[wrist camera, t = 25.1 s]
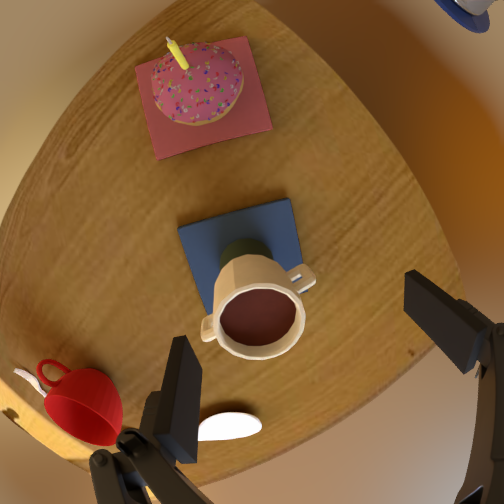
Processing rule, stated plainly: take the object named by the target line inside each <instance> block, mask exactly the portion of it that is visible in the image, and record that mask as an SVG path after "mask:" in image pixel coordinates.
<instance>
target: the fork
mask: <svg viewBox="0 0 504 504" xmlns="http://www.w3.org/2000/svg"><path fill="white" fill-rule="evenodd" d="M16 369H18V368H16ZM16 369H15V370H16ZM15 370H14V371H15ZM19 370H20V371H19ZM14 371H13V372H14ZM18 371H19V372H18ZM17 372H18V373H17ZM15 373H17V374H19V375H20V376H22V377H24V378H25V379H26V380H28V381H29V382H30V383H31V384H32V385H33V386H34V388H35V389H36V390H37V391H38V392H39V393H41V394H42V395H43V396H44V397H46V396H47V394H46V393H45V392H44V391H43V390H42V389H41V388H40V385H39V382H38V380H37V379H36V378H35V377H34V376H33V375H32V374H30V373H28V372H26V371H24V370H21V369H18V370H16V371H15Z"/></svg>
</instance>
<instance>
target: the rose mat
mask: <svg viewBox="0 0 504 504" xmlns="http://www.w3.org/2000/svg"><path fill="white" fill-rule="evenodd" d="M210 44H213V45H216V46H219V47H223V48H224V49H226V50H228V51H230V53H231V52H232V53H231V54H232V55H233V56H234V58H235V59H236V61H238V62H239V66H240V67H241V70H242V72H243V75H244V84H243V89H242V92H241V93H240V95H239V97H238V98H237V100H236V102H235V104H234V106H233V107H232V108H231V110H230V111H229V112H228V113H227V114H226V115H225V116H223V117H222V118H221V119H219V120H217V121H215V122H212V123H208V124H204V125H200V126H192V125H187V124H182V123H178V122H175V121H173V120H171V119H170V118H169V117H167V116H166V115H164V114H163V112H162V111H161V110H160V109H159V108H158V107H157V105H156V103H155V100H154V98H153V90H152V80H151V78H152V77H151V75H152V74H153V72H154V71H153V69H154V68H156V67H155V64H158V63H159V61H160V60H161V58H163V57H160V58H157V59H154V60H151V61H149V62H146V63H143V64H141V65H138V66H135V71H136V76H137V81H138V85H139V90H140V95H141V99H142V104H143V108H144V112H145V116H146V121H147V125H148V129H149V133H150V137H151V141H152V144H153V148H154V152H155V156H156V159H157V160H162V159H165V158H168V157H171V156H174V155H177V154H180V153H183V152H186V151H190V150H193V149H196V148H200V147H203V146H207V145H210V144H214V143H218V142H221V141H225V140H229V139H233V138H237V137H241V136H245V135H250V134H254V133H258V132H263V131H268V130H272V129H273V127H272V123H271V119H270V115H269V111H268V108H267V104H266V100H265V97H264V93H263V89H262V86H261V82H260V79H259V75H258V72H257V69H256V65H255V62H254V59H253V55H252V52H251V49H250V45H249V42H248V39H247V36H242V37H237V38H231V39H226V40H222V41H217V42H213V43H210ZM164 57H165V56H164ZM154 70H155V69H154Z"/></svg>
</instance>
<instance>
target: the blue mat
mask: <svg viewBox="0 0 504 504" xmlns="http://www.w3.org/2000/svg"><path fill="white" fill-rule="evenodd" d="M177 230H178V233H179V236H180V239H181V242H182V245H183V248H184V251H185V254H186V257H187V260H188V263H189V265H190V268H191V271H192V274H193V277H194V280H195V282H196V285H197V288H198V291H199V293H200V296H201V299H202V301H203V304H204V307H205V309H206V312H207V314H208V315H210V314H212V313H213V304H214V286H215V282H216V280H217V278H218V276H219V274H220V269H219V266H220V257H221V255H222V253H223V252H224V250H225V248H226V247H227V245H229V244H231V243H233V242H234V241H236V240H238V239H246V238H252V239H255V240H257V241H260V242H263V243H264V244H265V245H266V246H267V247H268V248H269V249H270V250H271V252H272V255H273V259H274V261H275V262H278V264H279V265H280V266H281V267H282V268H283V269H284V270H285V271H286V272H288V271H289V270H291V269H293V268H295V267H296V266H298V265H300V264H303V261H302V256H301V251H300V245H299V240H298V235H297V230H296V226H295V221H294V216H293V211H292V207H291V202H290V199H289V198H284V199H279V200H275V201H271V202H268V203H264V204H260V205H256V206H252V207H248V208H244V209H241V210H237V211H233V212H229V213H226V214H222V215H218V216H215V217H211V218H208V219H204V220H201V221H197V222H194V223H190V224H187V225H183V226H180V227H178V229H177ZM301 278H302V276H301V277H299V278H297V279H295V280H294V281H292V283H294V282H296V281H298V280H300V279H301ZM304 292H308V289H306V290H305V291H303V292H301V293H304ZM301 293H299V294H301Z"/></svg>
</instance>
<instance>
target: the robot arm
mask: <svg viewBox="0 0 504 504" xmlns="http://www.w3.org/2000/svg"><path fill="white" fill-rule="evenodd" d="M451 1H452V2H453V3H454V4H455V5H456V6H457V7H458V8H460V9H461V10H462V11H464V12H465V13H467V14H469V15H471V16H478V15H481V14H482V13H484V12H485V11H486V10H487V9H488V7H489V6H490V5H491V4H492V3H493V2H494V1H496V0H451ZM404 311H405V312H406V313H407V314H408V315H409V316H410V317H411V318H412V319H413V320H414V321H415V323H416V324H417V325H418V326H419V327H420V328H421V329H422V330H423V331H424V332H425V333H426V334H427V335H428V336H429V337H430V338H431V339H432V340H433V341H434V342H435V343H436V344H437V346H438V347H439V348H440V349H441V350H442V351H443V352H444V353H445V354H446V355H447V356H448V358H449V359H450V360H452V362H453V363H454V364H455V365H456V366H457V368H458V369H459V370H460V371H461V372H462V373H463V374H465V373H467V372H468V371H470V370H471V369H473V368H474V366H475V363H476V361H477V360H478V361H479V362H480V365H479V368H478V370H477V373H476V375H475V378H477V376H478V374H479V387H478V404H477V415H476V424H475V431H474V438H473V444H472V450H471V455H470V460H469V464H468V469H467V473H466V477H465V481H464V483H463V486H462V487H461V489H460V491H459V492H458V495H457V497H456V499H455V502H454V504H504V323H497V324H494V323H493V322H492V321H491V320H490V319H488V318H487V317H486V316H485V315H483V314H482V313H481V312H480V311H478V310H477V309H476V308H474V307H473V306H472V305H471V304H469V303H468V302H467V301H464V300H461V299H458V300H455V299H454V298H453V297H451V296H450V295H449V294H447V293H446V292H445V291H443V290H442V289H441V288H439V287H438V286H437V285H435V284H434V283H433V282H431V281H430V280H429V279H427V278H426V277H424V276H423V275H422V274H420V273H419V272H418V271H416V270H415V269H414V270H411V271H409V272H406V273H405V288H404ZM201 382H202V367H201V365H200V363H199V361H198V359H197V357H196V355H195V353H194V351H193V349H192V347H191V345H190V343H189V341H188V339H187V337H186V335H184V336H179V337H174V338H173V341H172V345H171V349H170V353H169V358H168V362H167V366H166V370H165V375H164V379H163V384H162V388H161V391H154V392H151V393H150V395H149V396H148V398H147V399H146V403H145V407H144V408H145V409H144V411H143V416H142V419H141V423H140V427H139V430H138V429H135V428H128V429H125V430H123V431H122V432H121V433H120V434H119V435H118V436H117V438H116V447H117V448H118V449H119V450H120V451H121V452H118V453H114V454H111V453H110V452H109V451H108V450H105V449H99V450H97V451H95V452H94V453H93V454H92V455H91V457H90V459H89V465H90V471H91V476H92V481H93V486H94V490H95V495H96V499H97V503H98V504H152V503H151V500H150V498H149V495H148V493H147V491H146V488H145V486H148V487H149V489H150V490H151V491H152V492H153V494H154V495H155V496H156V498H157V499H158V500H159V501H160V502H161V504H214V503H213V502H212V501H211V500H209V499H208V498H207V497H206V496H205V495H204V494H203V493H202V492H201V491H200V490H199V489H198V488H197V487H196V486H195V485H194V484H193V483H192V482H191V481H190V480H189V479H188V478H187V477H186V476H185V475H184V474H183V473H182V472H181V471H180V470H179V469H178V468H177V467H176V466H175V465H176V459H177V460H178V461H179V462H180V463H181V464H188V463H197V450H198V429H199V412H200V396H201Z"/></svg>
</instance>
